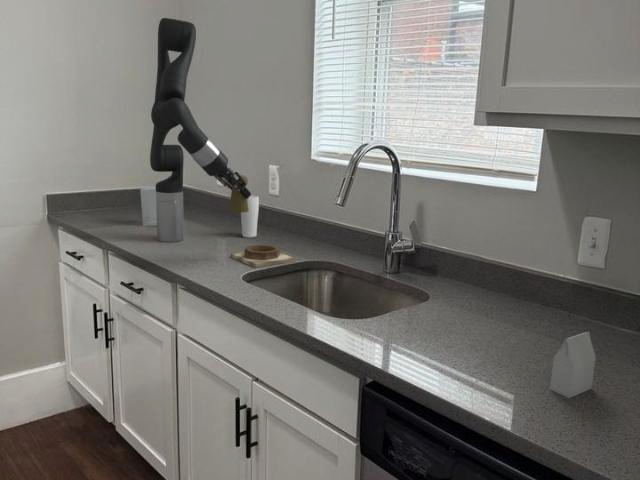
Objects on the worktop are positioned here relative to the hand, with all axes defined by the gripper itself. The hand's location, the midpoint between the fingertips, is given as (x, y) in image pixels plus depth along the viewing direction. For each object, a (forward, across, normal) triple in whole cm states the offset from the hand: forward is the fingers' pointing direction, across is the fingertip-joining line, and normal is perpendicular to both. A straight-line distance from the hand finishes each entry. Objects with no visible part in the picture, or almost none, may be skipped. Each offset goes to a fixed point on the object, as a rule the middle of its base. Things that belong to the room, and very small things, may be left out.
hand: (244, 195), depth 179 cm
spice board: (+17, -4, +11) cm, 21 cm away
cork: (+2, 0, +5) cm, 5 cm away
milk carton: (+18, -108, +11) cm, 110 cm away
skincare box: (+11, +64, +18) cm, 67 cm away
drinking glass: (+27, +27, +2) cm, 38 cm away
